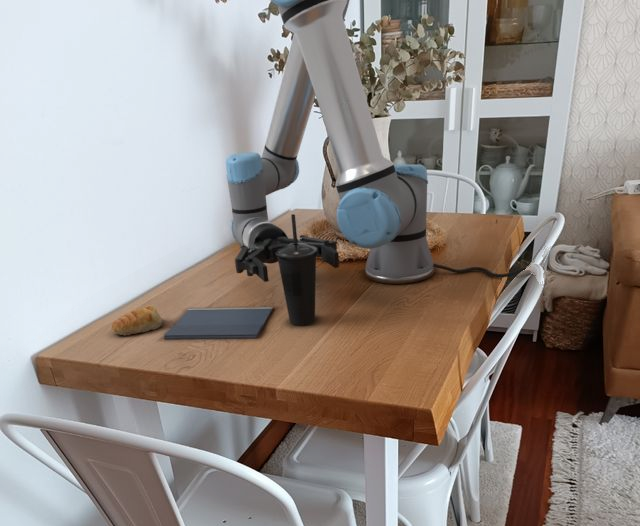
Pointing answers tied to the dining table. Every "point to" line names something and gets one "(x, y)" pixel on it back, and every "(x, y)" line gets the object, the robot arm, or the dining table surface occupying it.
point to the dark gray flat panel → (220, 323)
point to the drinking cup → (298, 279)
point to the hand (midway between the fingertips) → (301, 267)
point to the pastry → (137, 321)
